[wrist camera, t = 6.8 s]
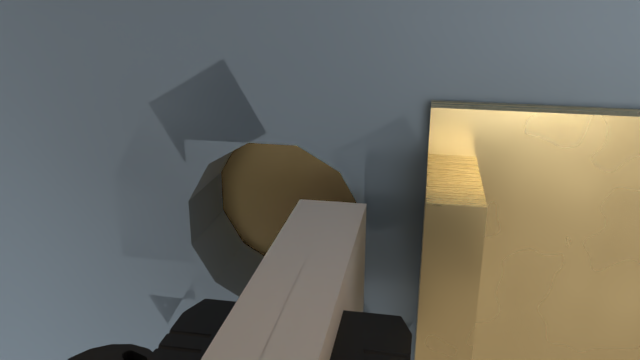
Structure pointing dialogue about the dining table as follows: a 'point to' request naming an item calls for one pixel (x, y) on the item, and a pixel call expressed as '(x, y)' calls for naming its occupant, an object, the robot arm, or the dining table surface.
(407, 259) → the grey flat board
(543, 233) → the brass cover
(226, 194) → the dining table surface
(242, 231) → the dining table surface
